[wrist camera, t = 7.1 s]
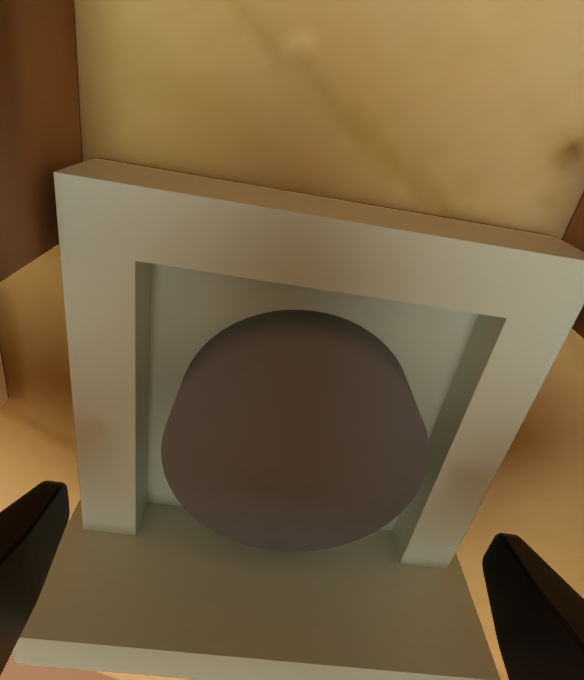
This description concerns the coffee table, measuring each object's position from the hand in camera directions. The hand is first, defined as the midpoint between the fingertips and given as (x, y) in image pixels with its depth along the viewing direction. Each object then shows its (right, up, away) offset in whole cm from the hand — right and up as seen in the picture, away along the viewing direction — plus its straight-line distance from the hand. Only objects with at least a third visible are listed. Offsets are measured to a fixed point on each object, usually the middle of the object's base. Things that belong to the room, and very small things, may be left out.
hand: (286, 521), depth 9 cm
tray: (0, +3, +4) cm, 5 cm away
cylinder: (0, +2, +3) cm, 4 cm away
